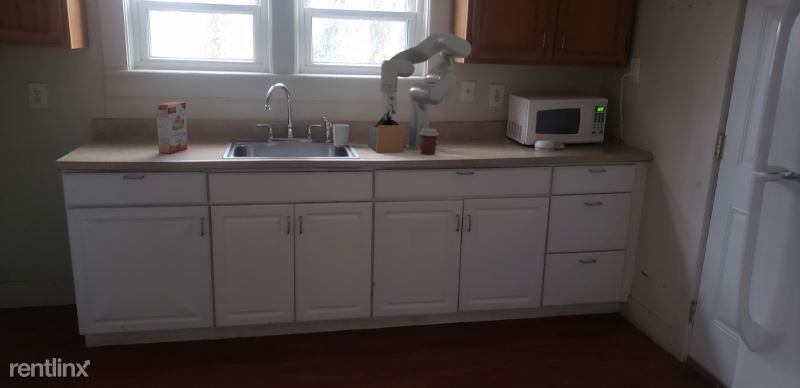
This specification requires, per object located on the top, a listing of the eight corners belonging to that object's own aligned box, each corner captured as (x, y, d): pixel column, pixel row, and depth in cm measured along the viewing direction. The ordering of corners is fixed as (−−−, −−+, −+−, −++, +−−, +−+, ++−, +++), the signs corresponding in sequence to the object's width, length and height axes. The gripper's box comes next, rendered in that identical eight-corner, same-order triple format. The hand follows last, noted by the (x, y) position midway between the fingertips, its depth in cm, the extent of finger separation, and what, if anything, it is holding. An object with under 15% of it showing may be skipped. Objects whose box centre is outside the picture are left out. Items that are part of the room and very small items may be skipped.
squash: (408, 132, 306) (390, 109, 303) (405, 138, 291) (386, 114, 289) (387, 149, 309) (368, 126, 307) (383, 156, 295) (364, 132, 293)
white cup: (329, 145, 291) (329, 125, 288) (338, 143, 298) (338, 123, 295) (343, 147, 287) (343, 126, 285) (351, 145, 294) (352, 125, 292)
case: (392, 147, 292) (393, 127, 290) (401, 153, 279) (402, 131, 277) (368, 148, 289) (369, 127, 286) (376, 153, 276) (377, 131, 273)
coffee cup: (429, 157, 271) (430, 131, 268) (413, 154, 277) (415, 128, 274) (441, 155, 278) (443, 129, 275) (426, 152, 283) (427, 127, 280)
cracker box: (171, 154, 256) (168, 104, 251) (158, 153, 257) (155, 104, 252) (188, 148, 269) (186, 101, 264) (176, 147, 270) (173, 101, 265)
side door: (402, 151, 279) (404, 125, 274) (402, 152, 278) (405, 126, 273) (375, 152, 275) (377, 125, 271) (376, 152, 274) (378, 126, 270)
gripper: (401, 90, 264) (399, 131, 269) (392, 87, 278) (390, 126, 282) (385, 89, 262) (383, 131, 266) (376, 86, 276) (375, 126, 280)
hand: (387, 128), depth 274 cm, fingers closed
